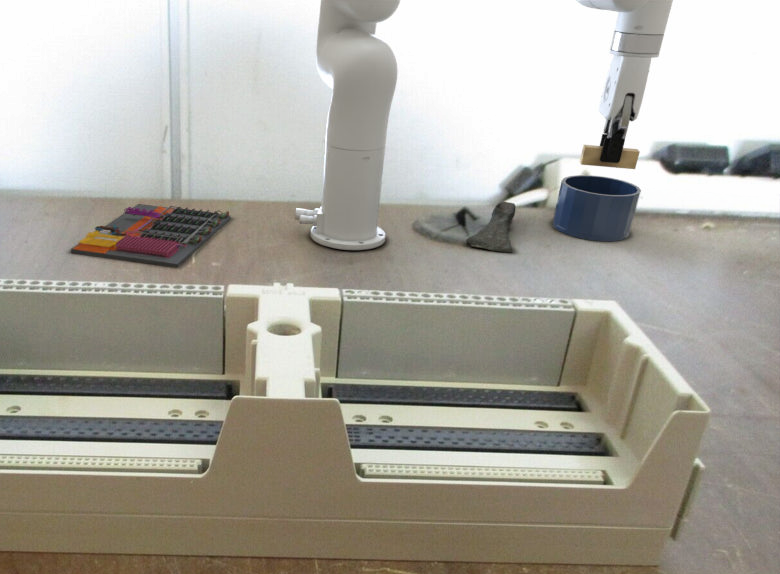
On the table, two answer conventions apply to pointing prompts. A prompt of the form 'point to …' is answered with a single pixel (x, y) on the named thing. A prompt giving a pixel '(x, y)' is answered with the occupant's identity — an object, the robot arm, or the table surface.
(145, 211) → the circuit board
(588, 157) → the wooden rectangular block
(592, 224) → the blue open cylinder
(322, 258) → the table surface
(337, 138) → the robot arm
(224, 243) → the table surface
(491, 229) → the tool
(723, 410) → the table surface
